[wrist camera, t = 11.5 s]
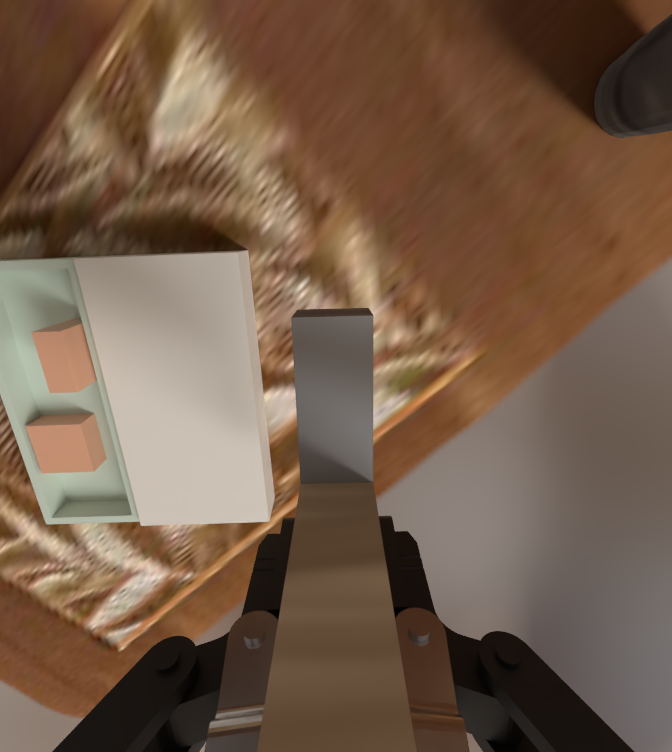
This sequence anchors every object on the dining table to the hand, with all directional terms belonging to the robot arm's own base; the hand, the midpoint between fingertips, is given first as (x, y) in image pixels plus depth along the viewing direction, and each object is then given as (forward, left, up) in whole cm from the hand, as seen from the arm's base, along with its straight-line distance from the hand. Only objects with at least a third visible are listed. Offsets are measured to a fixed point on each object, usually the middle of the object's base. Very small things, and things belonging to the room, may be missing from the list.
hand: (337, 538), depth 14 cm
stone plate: (+1, -11, -17) cm, 20 cm away
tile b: (+4, -21, -15) cm, 26 cm away
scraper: (0, 0, -3) cm, 3 cm away
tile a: (-3, -17, -15) cm, 22 cm away
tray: (+1, -20, -17) cm, 26 cm away
